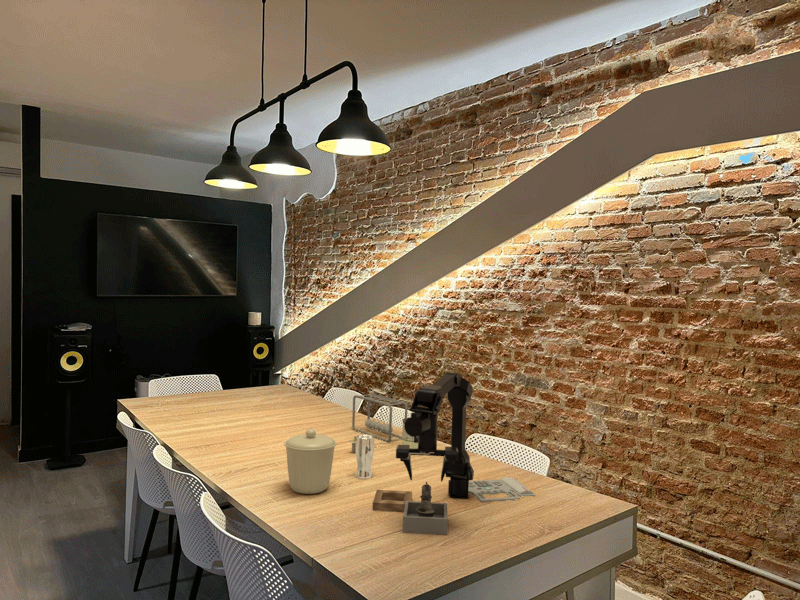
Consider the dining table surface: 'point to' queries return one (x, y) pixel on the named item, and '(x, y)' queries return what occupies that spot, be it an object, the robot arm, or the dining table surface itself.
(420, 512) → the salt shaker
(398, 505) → the socket block
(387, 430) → the newton's cradle
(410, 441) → the coffee can
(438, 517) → the bin
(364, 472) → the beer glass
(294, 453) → the canister
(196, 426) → the dining table surface
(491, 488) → the grey cutout plate
